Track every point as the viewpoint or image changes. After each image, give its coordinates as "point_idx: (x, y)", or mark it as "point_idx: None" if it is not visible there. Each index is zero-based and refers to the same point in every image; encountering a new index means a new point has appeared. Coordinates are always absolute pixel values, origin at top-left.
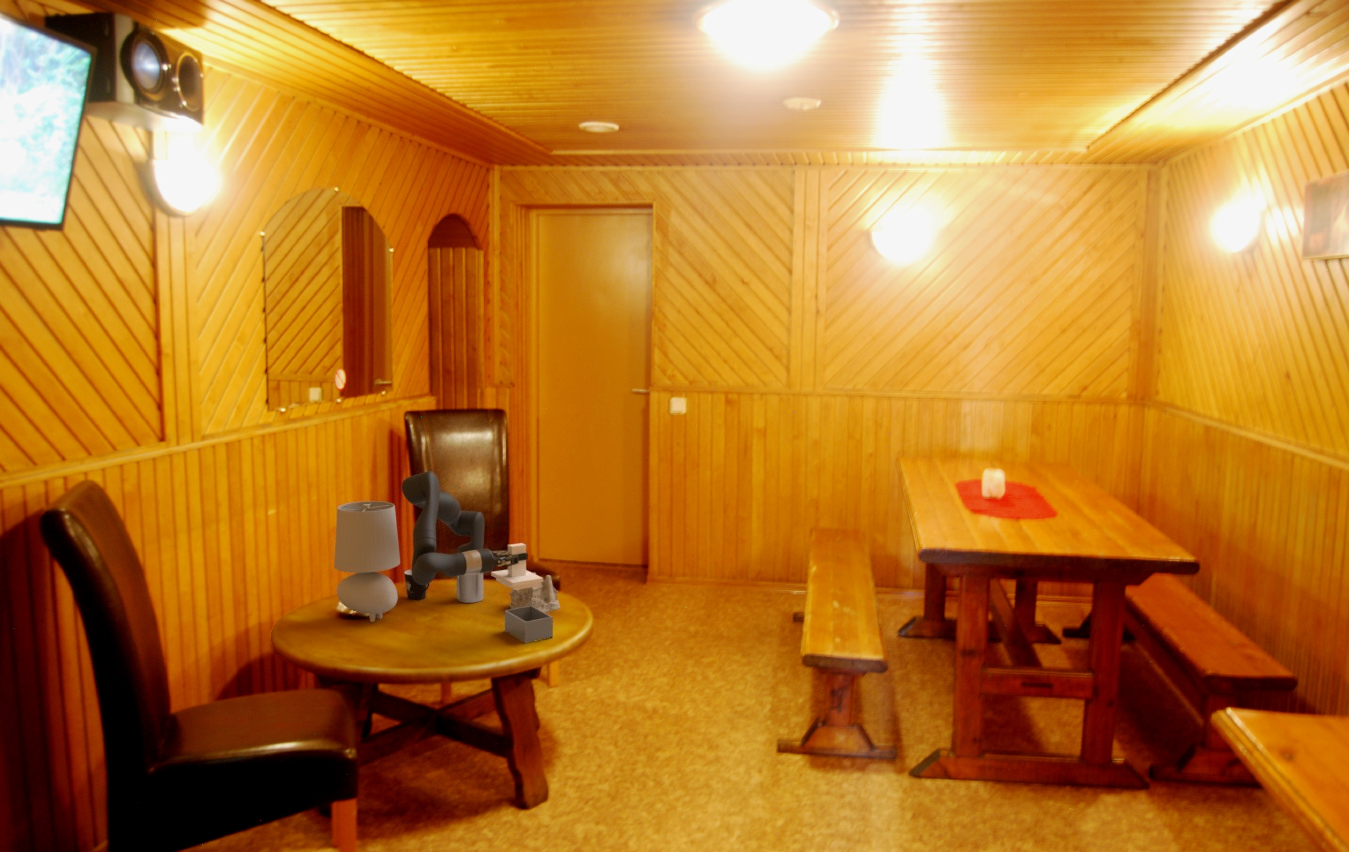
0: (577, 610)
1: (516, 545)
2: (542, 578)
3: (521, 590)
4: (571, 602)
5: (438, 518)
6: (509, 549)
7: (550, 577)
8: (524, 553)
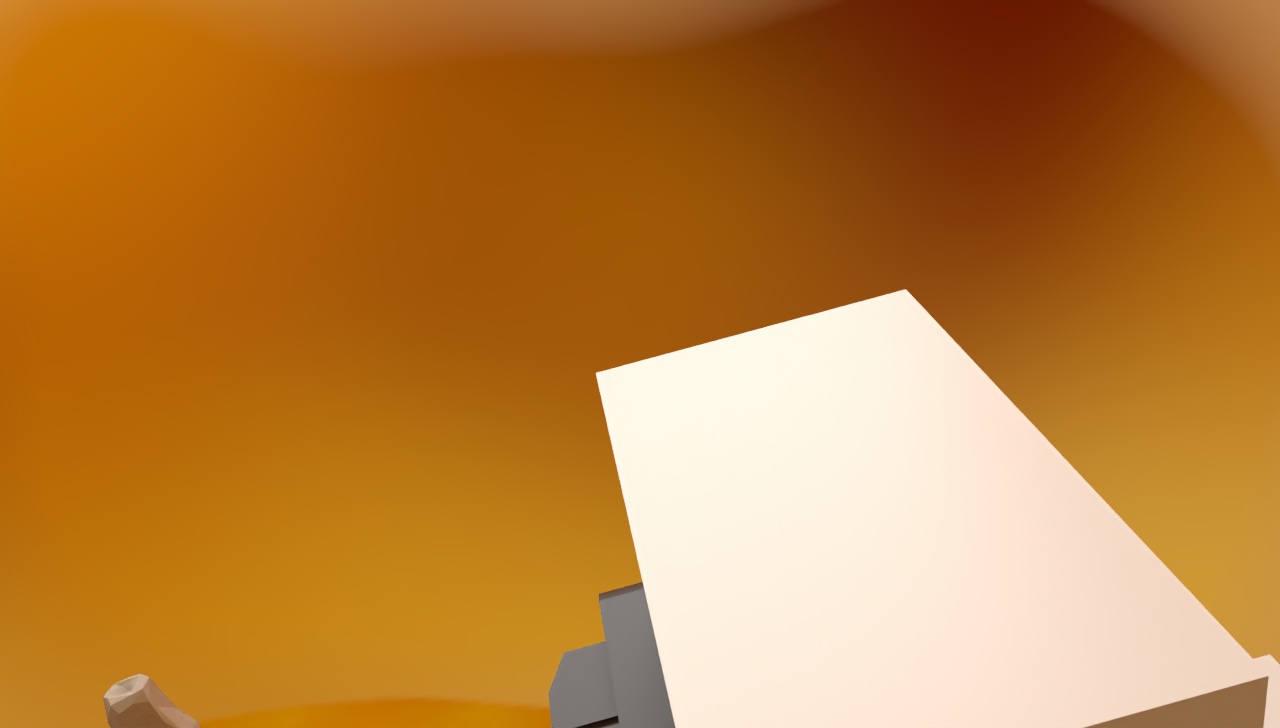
0: (440, 708)
1: (940, 496)
2: (1277, 669)
3: None
4: (254, 713)
5: None
6: None
7: (154, 686)
8: None
